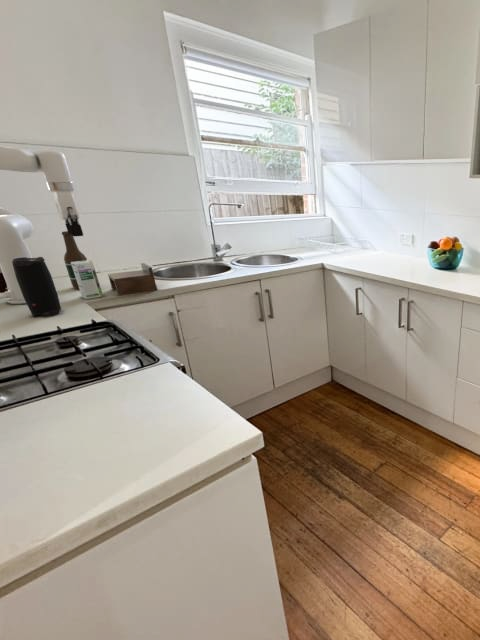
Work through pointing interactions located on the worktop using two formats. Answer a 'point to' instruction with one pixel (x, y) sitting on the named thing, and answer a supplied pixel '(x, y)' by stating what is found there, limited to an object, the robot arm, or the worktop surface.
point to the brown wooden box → (133, 281)
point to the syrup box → (87, 279)
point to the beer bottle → (72, 256)
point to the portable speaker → (37, 286)
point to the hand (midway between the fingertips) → (76, 234)
